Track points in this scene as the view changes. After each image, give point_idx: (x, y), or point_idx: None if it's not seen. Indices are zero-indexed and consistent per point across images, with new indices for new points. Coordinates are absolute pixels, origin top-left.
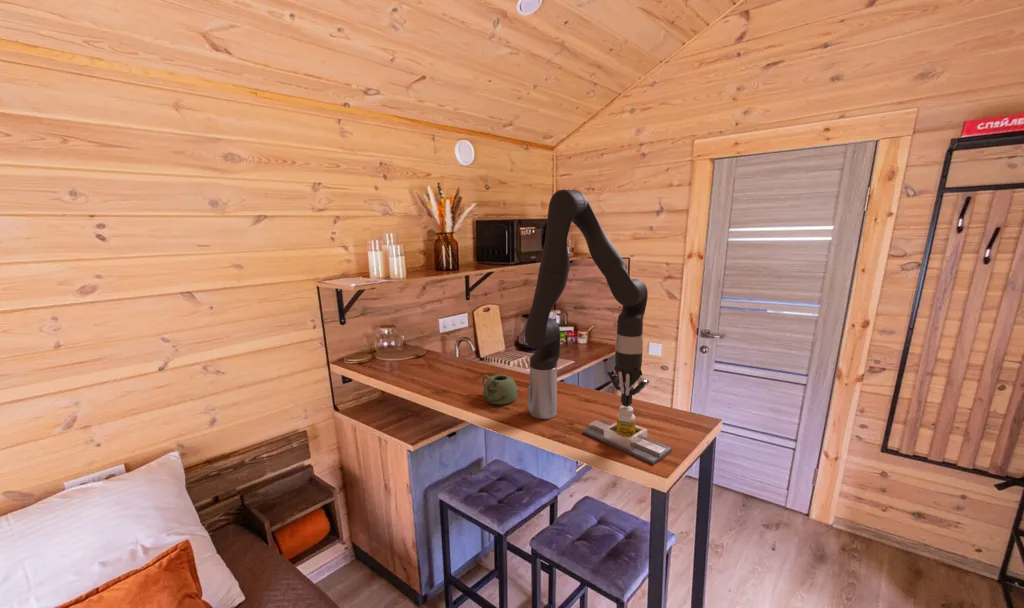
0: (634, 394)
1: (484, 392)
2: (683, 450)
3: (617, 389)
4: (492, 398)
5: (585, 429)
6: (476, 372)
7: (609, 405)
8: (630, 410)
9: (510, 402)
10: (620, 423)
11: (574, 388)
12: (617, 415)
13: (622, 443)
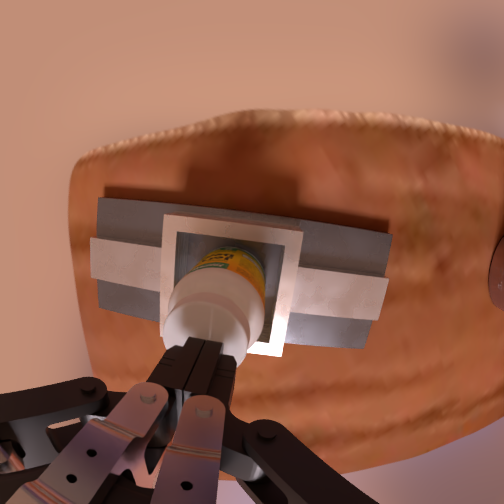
0: (76, 379)
1: None
2: (90, 324)
3: (261, 423)
4: None
5: (386, 245)
6: None
7: (373, 434)
8: (166, 324)
9: None
10: (225, 265)
11: (466, 431)
12: (254, 297)
13: (208, 216)
